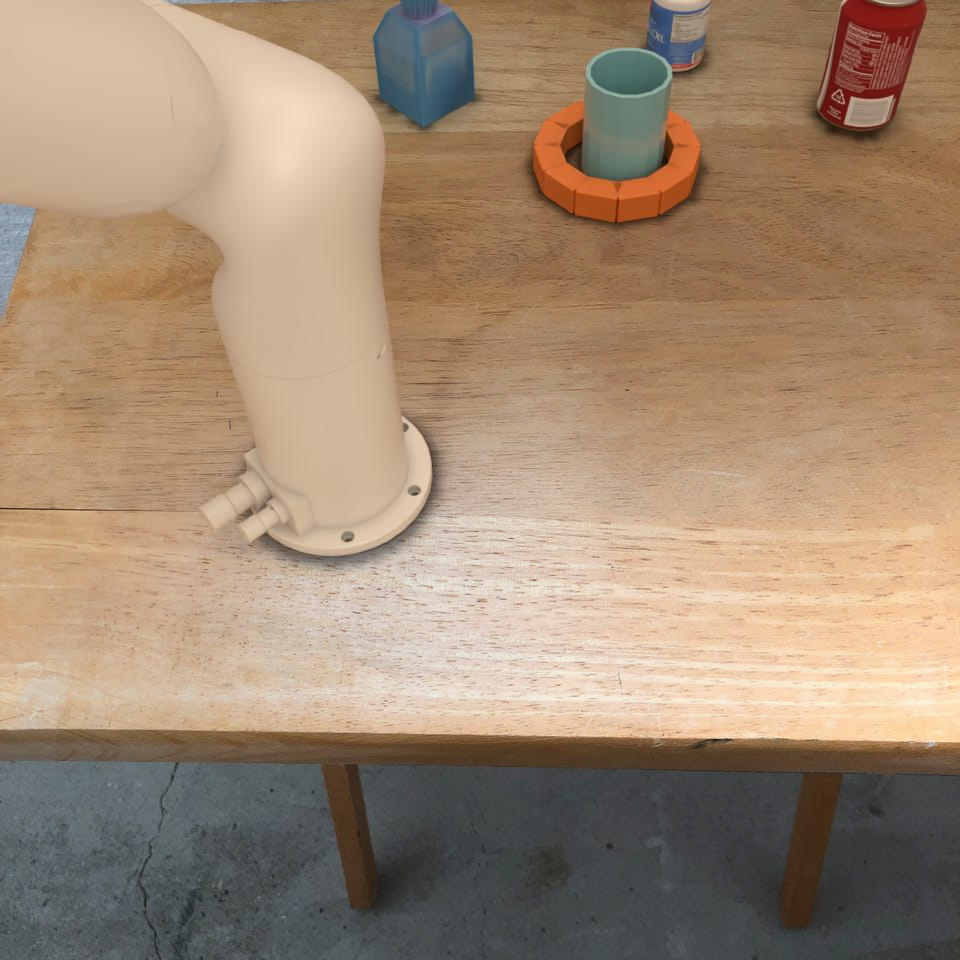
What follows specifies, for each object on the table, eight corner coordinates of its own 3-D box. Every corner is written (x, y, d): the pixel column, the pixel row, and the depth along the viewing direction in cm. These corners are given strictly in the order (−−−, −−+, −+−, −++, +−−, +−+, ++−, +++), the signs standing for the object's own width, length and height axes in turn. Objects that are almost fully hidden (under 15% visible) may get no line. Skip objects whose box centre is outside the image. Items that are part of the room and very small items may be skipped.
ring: (616, 244, 88) (618, 221, 86) (502, 167, 95) (502, 143, 93) (728, 169, 93) (733, 146, 92) (613, 101, 100) (615, 77, 98)
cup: (621, 202, 91) (629, 108, 84) (564, 164, 95) (568, 70, 87) (677, 166, 94) (690, 72, 87) (620, 131, 97) (628, 37, 90)
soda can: (893, 141, 95) (935, 11, 85) (813, 134, 96) (845, 4, 86) (892, 95, 99) (931, -35, 89) (815, 88, 100) (846, -41, 90)
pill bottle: (638, 45, 105) (647, -56, 97) (692, 37, 105) (706, -64, 98) (653, 77, 102) (664, -24, 94) (710, 69, 102) (725, -32, 94)
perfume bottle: (380, 98, 101) (364, -28, 92) (430, 70, 104) (421, -55, 94) (423, 127, 98) (412, 0, 89) (474, 98, 101) (469, -29, 91)
